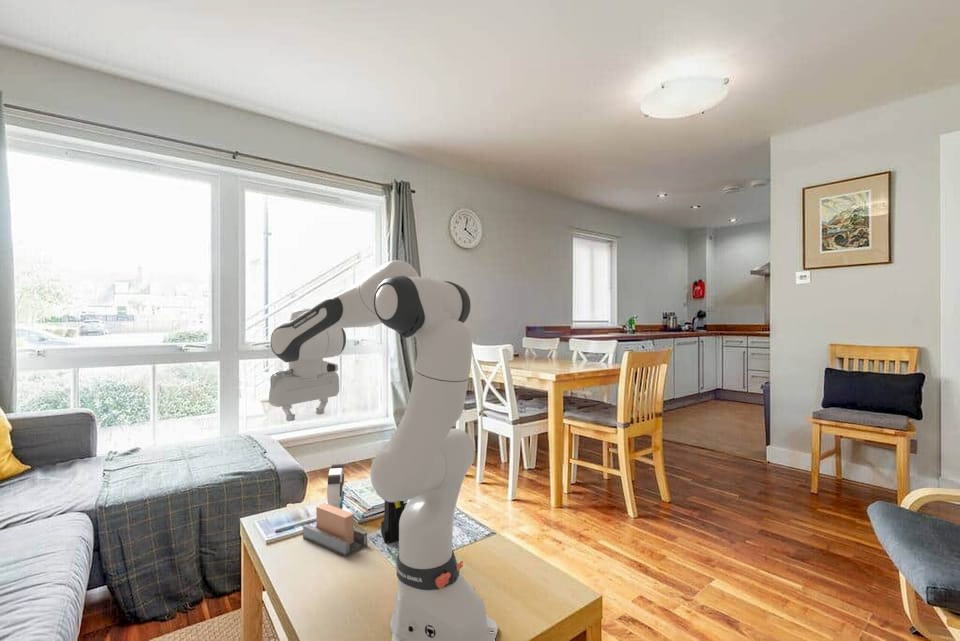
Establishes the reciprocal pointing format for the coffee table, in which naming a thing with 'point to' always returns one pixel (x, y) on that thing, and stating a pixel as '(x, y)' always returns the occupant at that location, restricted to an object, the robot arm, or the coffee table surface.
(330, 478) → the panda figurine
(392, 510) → the portable radio
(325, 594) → the coffee table surface
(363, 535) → the bracket
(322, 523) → the salmon orange rectangular block
